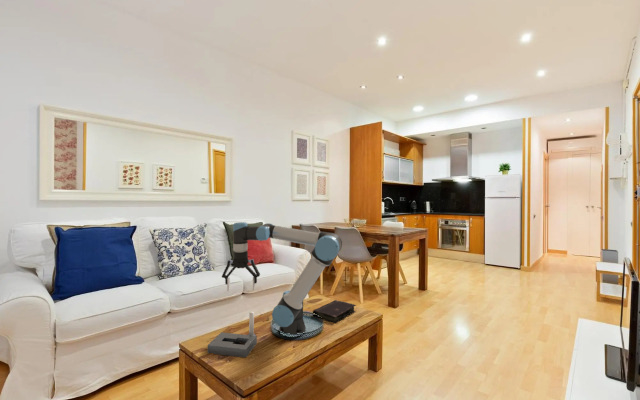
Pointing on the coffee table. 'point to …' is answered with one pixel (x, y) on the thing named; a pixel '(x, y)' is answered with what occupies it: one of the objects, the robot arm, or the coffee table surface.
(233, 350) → the keyhole plate
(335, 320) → the diary
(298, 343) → the coffee table surface
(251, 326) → the peg
